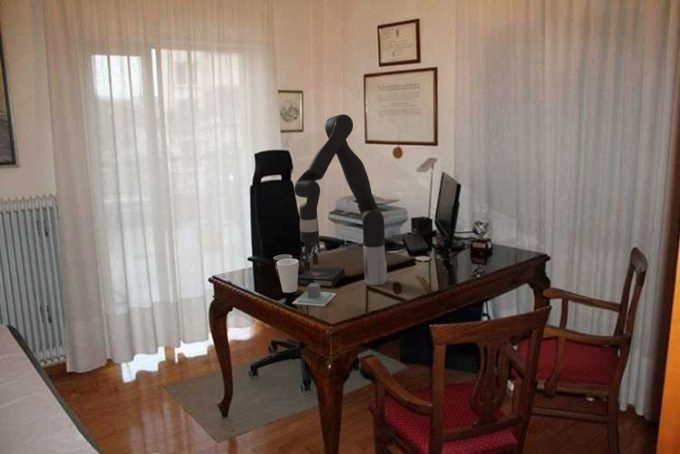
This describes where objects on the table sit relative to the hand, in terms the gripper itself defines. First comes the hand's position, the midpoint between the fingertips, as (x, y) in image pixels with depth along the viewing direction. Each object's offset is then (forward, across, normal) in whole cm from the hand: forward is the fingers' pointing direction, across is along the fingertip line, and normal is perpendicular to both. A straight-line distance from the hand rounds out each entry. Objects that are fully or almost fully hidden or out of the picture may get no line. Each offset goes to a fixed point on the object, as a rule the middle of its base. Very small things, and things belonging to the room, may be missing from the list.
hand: (311, 267), depth 233 cm
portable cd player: (+14, +23, +6) cm, 28 cm away
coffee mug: (+14, +24, +25) cm, 38 cm away
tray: (+14, 0, -1) cm, 14 cm away
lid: (+13, 0, -1) cm, 13 cm away
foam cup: (+14, +8, +14) cm, 22 cm away
